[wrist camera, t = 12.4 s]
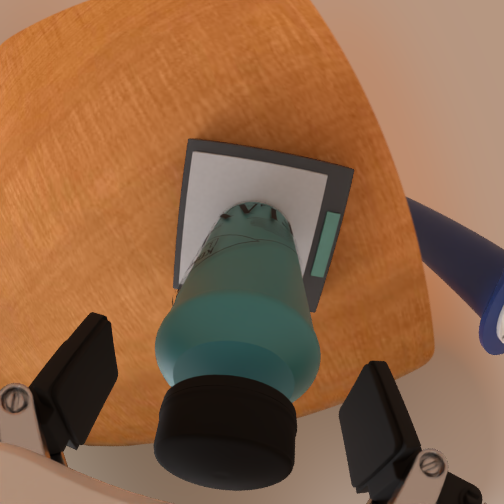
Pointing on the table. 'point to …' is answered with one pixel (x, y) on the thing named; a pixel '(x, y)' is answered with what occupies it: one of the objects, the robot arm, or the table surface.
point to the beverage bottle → (236, 356)
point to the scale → (266, 190)
